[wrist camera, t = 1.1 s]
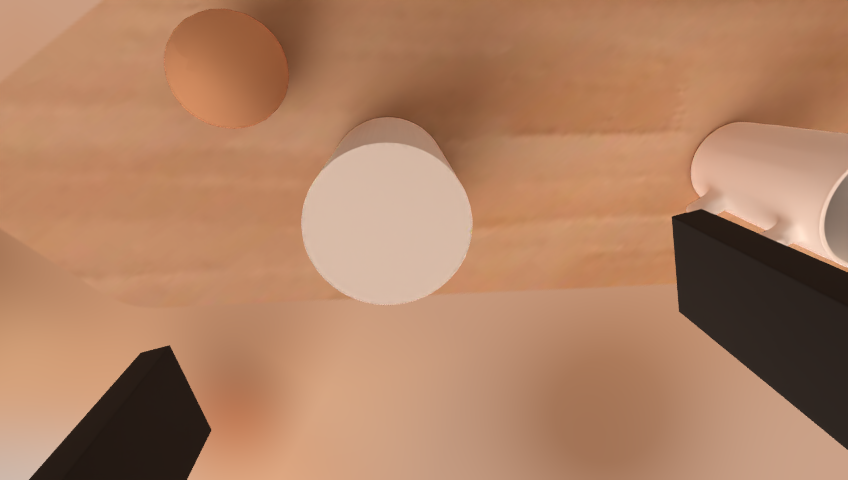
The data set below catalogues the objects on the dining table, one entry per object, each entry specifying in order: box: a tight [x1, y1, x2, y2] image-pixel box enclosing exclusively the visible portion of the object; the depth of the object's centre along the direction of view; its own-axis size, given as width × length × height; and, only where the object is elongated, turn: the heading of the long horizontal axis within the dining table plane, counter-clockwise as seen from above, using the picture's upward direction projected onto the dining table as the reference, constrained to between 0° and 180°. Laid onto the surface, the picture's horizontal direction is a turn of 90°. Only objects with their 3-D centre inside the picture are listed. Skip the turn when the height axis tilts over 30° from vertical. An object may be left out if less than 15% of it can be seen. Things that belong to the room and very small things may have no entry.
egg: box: [164, 9, 289, 129], centre depth 28 cm, size 6×6×8 cm
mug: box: [686, 122, 848, 268], centre depth 30 cm, size 10×7×12 cm, turn 121°
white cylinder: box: [301, 117, 472, 305], centre depth 29 cm, size 8×8×12 cm
